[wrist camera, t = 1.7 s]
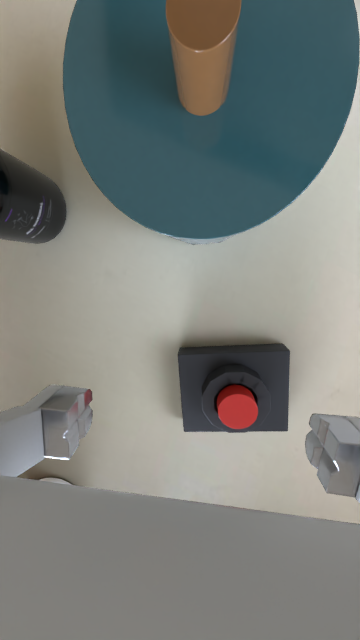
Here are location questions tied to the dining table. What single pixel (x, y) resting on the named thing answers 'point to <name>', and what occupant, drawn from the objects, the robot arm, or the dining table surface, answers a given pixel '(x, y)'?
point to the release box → (234, 369)
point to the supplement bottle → (28, 203)
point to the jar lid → (208, 105)
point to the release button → (237, 407)
